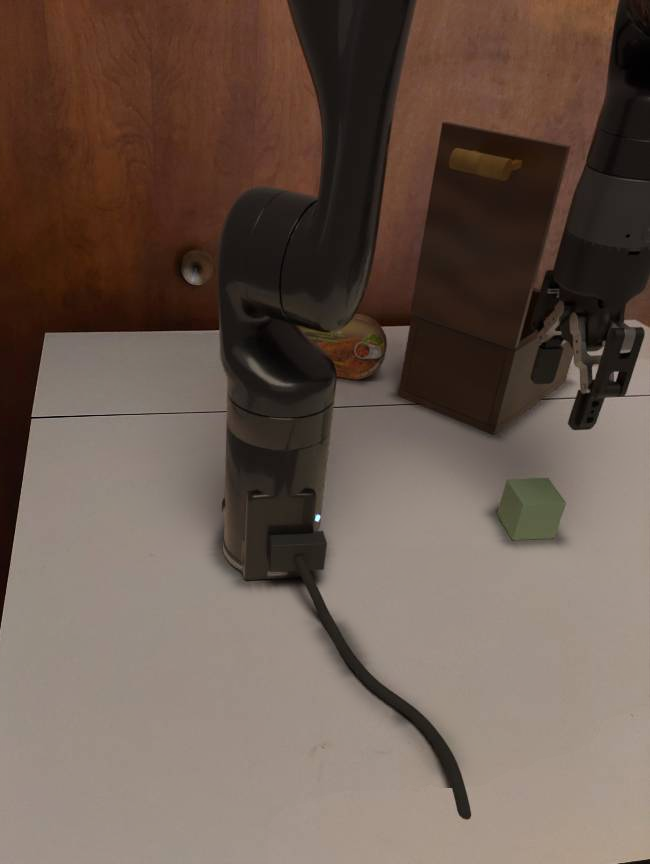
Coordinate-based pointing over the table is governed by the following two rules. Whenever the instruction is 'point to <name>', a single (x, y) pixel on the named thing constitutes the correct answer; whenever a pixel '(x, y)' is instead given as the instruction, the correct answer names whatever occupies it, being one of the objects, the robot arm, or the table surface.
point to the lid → (486, 229)
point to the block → (531, 508)
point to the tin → (353, 347)
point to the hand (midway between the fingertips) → (559, 404)
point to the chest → (475, 372)
